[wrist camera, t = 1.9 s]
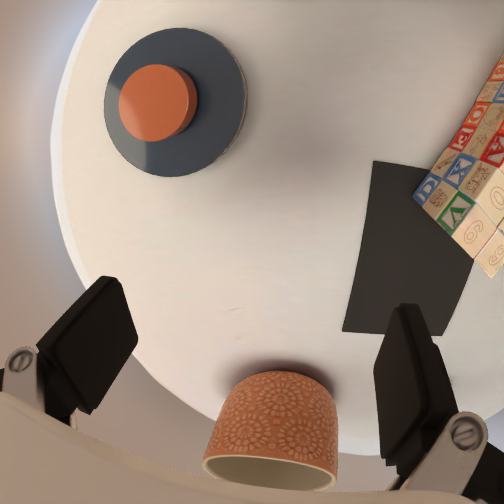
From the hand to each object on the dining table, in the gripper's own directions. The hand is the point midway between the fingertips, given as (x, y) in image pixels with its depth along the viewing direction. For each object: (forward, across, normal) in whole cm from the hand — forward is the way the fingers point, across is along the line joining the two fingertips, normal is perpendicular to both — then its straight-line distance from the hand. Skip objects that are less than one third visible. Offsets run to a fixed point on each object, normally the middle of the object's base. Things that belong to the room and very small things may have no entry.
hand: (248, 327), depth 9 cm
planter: (+20, -1, +32) cm, 37 cm away
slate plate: (+20, +11, -8) cm, 24 cm away
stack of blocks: (+20, -20, -7) cm, 29 cm away
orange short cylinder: (+19, +11, -8) cm, 23 cm away
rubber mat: (+20, -14, +8) cm, 26 cm away
